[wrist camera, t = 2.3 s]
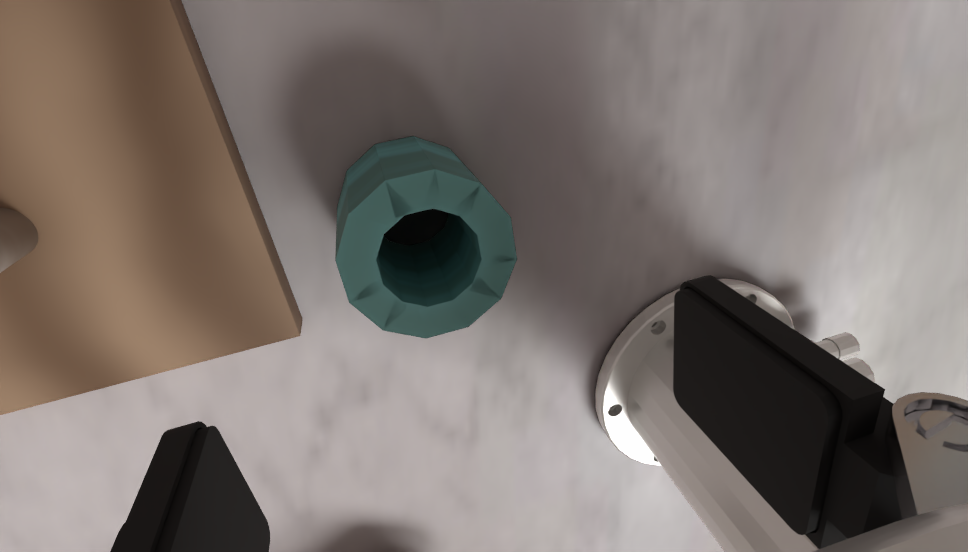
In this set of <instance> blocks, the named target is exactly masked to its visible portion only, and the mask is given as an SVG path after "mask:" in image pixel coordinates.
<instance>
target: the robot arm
mask: <svg viewBox="0 0 968 552" xmlns="http://www.w3.org/2000/svg"><path fill="white" fill-rule="evenodd" d="M859 351H860V346H859V343H858V341H857V339H856V338H855V337H854V336H853V335H852V334H850V333H846V332H845V333H842V334H838V335H835V336H832V337H829V338H826V339H823V340H822V341H820V342H817V343H816V342H814V341H812V340H809V339H808V338H806V337H805V336H803V335H801V334H800V333H798V332H797V331H795V329H794V326H793V322H792V319H791V317H790V315H789V313H788V312H787V310H786V308H785V306H784V305H782V304H781V303H780V302H779V301H778V300H777V299H776V298H775V297H774V296H773V295H771V294H769V293H768V292H766V291H764V290H763V289H761V288H760V287H758V286H756V285H753V284H750V283H748V282H745V281H742V280H734V279H725V278H724V279H716V278H715V277H713V276H704V277H701V278H697V279H694V280H690V281H687V282H684V283H683V284H682V285H681V287H680V289H677V290H675V291H673V292H671V293H669V294H667V295H665V296H663V297H662V298H660V299H659V300H657V301H656V302H654V303H653V304H651V305H650V306H648V307H647V308H646V309H645V310H643V311H642V312H641V313H640V314H639V315H638V316H637V317H636V318H635V319H633V320H632V321H631V322H630V323H629V324H628V326H627V327H626V328H625V329H624V330H623V332H622V333H621V334H620V335H619V336H618V338H617V339H616V340H615V342H614V344H613V345H612V347H611V349H610V350H609V352H608V354H607V355H606V357H605V360H604V362H603V365H602V367H601V370H600V372H599V375H598V381H597V386H596V391H595V401H596V411H597V415H598V419H599V422H600V424H601V426H602V428H603V429H604V431H605V433H606V434H607V436H608V438H609V439H610V440H611V442H612V443H613V444H614V446H615V447H616V448H617V449H618V450H619V451H620V452H622V453H623V454H625V455H626V456H627V457H629V458H631V459H633V460H636V461H638V462H641V463H645V464H650V465H656V466H662V467H663V469H664V470H665V471H666V473H667V474H668V475H669V477H670V478H671V480H672V481H673V482H674V484H675V485H676V486H677V488H678V489H679V490H680V492H681V493H682V495H683V496H684V497H685V499H686V500H687V501H688V503H689V504H690V505H691V507H692V508H693V510H694V511H695V512H696V514H697V515H698V516H699V518H700V519H701V520H702V522H703V523H704V524H705V526H706V527H707V529H708V530H709V531H710V533H711V534H712V535H713V537H714V538H715V539H716V541H717V542H718V544H719V545H720V546H721V548H722V549H723V550H724V552H968V401H967V400H964V399H961V398H958V397H954V396H950V395H945V394H940V393H926V392H920V393H913V394H908V395H905V396H903V397H901V398H899V399H898V400H897V401H896V402H895V403H894V404H893V403H891V402H890V401H888V400H887V399H885V398H884V397H883V395H884V391H885V389H883V388H882V387H880V386H879V385H877V384H876V383H874V382H875V379H874V373H873V372H872V370H871V368H870V367H869V365H867V364H866V363H865V362H864V361H863V360H861V359H858V358H851V359H847V360H844V361H841V360H842V359H845V358H848V357H852V356H855V355H857V354H858V353H859ZM269 545H270V530H269V526H268V522H267V520H266V518H265V516H264V514H263V512H262V510H261V509H260V507H259V505H258V503H257V501H256V499H255V497H254V496H253V494H252V492H251V490H250V488H249V486H248V484H247V482H246V481H245V479H244V477H243V475H242V473H241V471H240V469H239V468H238V466H237V464H236V462H235V460H234V458H233V456H232V455H231V453H230V451H229V449H228V447H227V445H226V443H225V442H224V440H223V438H222V436H221V434H220V432H219V431H218V429H217V428H216V427H215V426H210V427H206V425H205V424H204V423H202V422H199V421H198V422H195V423H191V424H188V425H184V426H181V427H177V428H174V429H170V430H167V431H166V432H164V434H163V435H162V437H161V440H160V442H159V444H158V447H157V449H156V451H155V454H154V456H153V459H152V461H151V463H150V466H149V468H148V471H147V473H146V475H145V478H144V480H143V482H142V485H141V487H140V490H139V492H138V494H137V497H136V499H135V501H134V504H133V506H132V509H131V511H130V513H129V516H128V518H127V520H126V523H124V524H123V526H122V528H121V529H120V531H119V533H118V535H117V537H116V540H115V542H114V544H113V547H112V549H111V551H110V552H269Z"/></svg>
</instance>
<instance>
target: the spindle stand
mask: <svg viewBox="0 0 968 552" xmlns="http://www.w3.org/2000/svg"><path fill="white" fill-rule="evenodd" d="M301 326H302V316H301V314H300V311H299V309H298V306H297V303H296V301H295V298H294V295H293V293H292V290H291V288H290V285H289V282H288V280H287V277H286V274H285V272H284V269H283V267H282V264H281V261H280V259H279V256H278V253H277V251H276V248H275V246H274V243H273V240H272V238H271V235H270V232H269V230H268V227H267V225H266V222H265V219H264V217H263V214H262V211H261V209H260V206H259V204H258V201H257V198H256V196H255V193H254V190H253V188H252V185H251V183H250V180H249V177H248V175H247V172H246V169H245V167H244V164H243V161H242V159H241V156H240V154H239V151H238V148H237V146H236V143H235V140H234V138H233V135H232V133H231V130H230V127H229V125H228V122H227V119H226V117H225V114H224V112H223V109H222V106H221V104H220V101H219V98H218V96H217V93H216V91H215V88H214V85H213V83H212V80H211V77H210V75H209V72H208V70H207V67H206V64H205V62H204V59H203V56H202V54H201V51H200V49H199V46H198V43H197V41H196V38H195V35H194V33H193V30H192V28H191V25H190V22H189V20H188V17H187V14H186V12H185V9H184V7H183V4H182V1H181V0H0V415H2V414H6V413H10V412H14V411H17V410H21V409H25V408H29V407H33V406H36V405H40V404H44V403H48V402H52V401H55V400H59V399H63V398H67V397H70V396H74V395H78V394H82V393H86V392H89V391H93V390H97V389H101V388H105V387H108V386H112V385H116V384H120V383H123V382H127V381H131V380H135V379H139V378H142V377H146V376H150V375H154V374H158V373H161V372H165V371H169V370H173V369H176V368H180V367H184V366H188V365H192V364H195V363H199V362H203V361H207V360H211V359H214V358H218V357H222V356H226V355H229V354H233V353H237V352H241V351H245V350H248V349H252V348H256V347H260V346H263V345H267V344H271V343H275V342H279V341H282V340H286V339H290V338H294V337H298V336H300V333H301Z"/></svg>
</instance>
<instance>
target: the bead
mask: <svg viewBox="0 0 968 552" xmlns="http://www.w3.org/2000/svg"><path fill="white" fill-rule="evenodd" d="M429 209H437V210H440V211H444V212H447V213H449V215H448V217H447V220H446V223H445V226H444V228H443V229H442V230H441V231H440V232H438V233H437V234H436V235H435V236H434V237H433V238H432V239H431V240H430V241H427V242H423V243H419V244H415V245H411V246H407V245H403V244H399V243H395V242H391V241H388V240H387V239H386V238H385V237H384V234H385V233H386V232H387V231H388V230H389V229H390V228H391V227H392V226H394V225H395V224H396V223H397V222H398V221H399V220H400V219H401V218H402V217H403V216H405V215H408V214H412V213H416V212H420V211H424V210H429ZM516 260H517V256H516V249H515V243H514V236H513V229H512V223H511V217H510V216H509V215H508V213H507V212H506V211H505V210H504V209H503V208H502V207H501V205H500V204H499V203H498V202H497V201H496V200H495V199H494V197H493V196H492V195H491V194H490V193H489V192H488V190H487V189H486V188H485V187H484V186H483V185H482V184H481V182H480V181H479V180H478V179H477V178H476V177H475V176H474V175H473V174H472V173H471V172H470V170H469V169H468V168H467V167H466V166H465V165H464V164H463V163H462V162H461V161H460V160H459V158H458V157H457V156H456V155H455V154H454V153H453V152H452V151H451V150H450V149H449V148H448V147H445V146H442V145H438V144H435V143H432V142H429V141H426V140H423V139H420V138H417V137H414V136H411V137H406V138H402V139H397V140H393V141H388V142H383V143H379V144H375V145H374V146H373V147H372V148H370V149H369V150H368V151H367V152H366V153H365V154H364V155H363V156H362V157H361V158H360V159H359V160H358V161H357V162H356V163H354V164H353V165H352V166H351V167H350V168H349V169H348V170H347V172H346V176H345V180H344V183H343V187H342V191H341V195H340V198H339V202H338V206H337V232H336V263H337V266H338V270H339V273H340V276H341V279H342V282H343V285H344V288H345V291H346V294H347V297H348V300H349V303H350V304H352V305H353V306H354V307H355V308H357V309H358V310H359V311H360V312H361V313H363V314H364V315H365V316H366V317H367V318H369V319H370V320H371V321H372V322H373V323H375V324H376V325H377V326H378V327H380V328H381V329H382V330H384V331H390V332H395V333H400V334H405V335H411V336H416V337H421V338H429V337H433V336H437V335H440V334H444V333H448V332H451V331H455V330H458V329H462V328H466V327H469V326H470V325H471V324H472V323H473V322H474V321H476V320H477V319H478V318H479V317H480V316H481V315H483V314H484V313H485V312H486V311H487V310H488V309H490V308H491V307H492V306H493V305H494V304H495V303H496V302H498V301H499V300H500V299H501V298H502V295H503V293H504V290H505V288H506V285H507V283H508V280H509V278H510V275H511V273H512V270H513V268H514V265H515V263H516Z"/></svg>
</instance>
